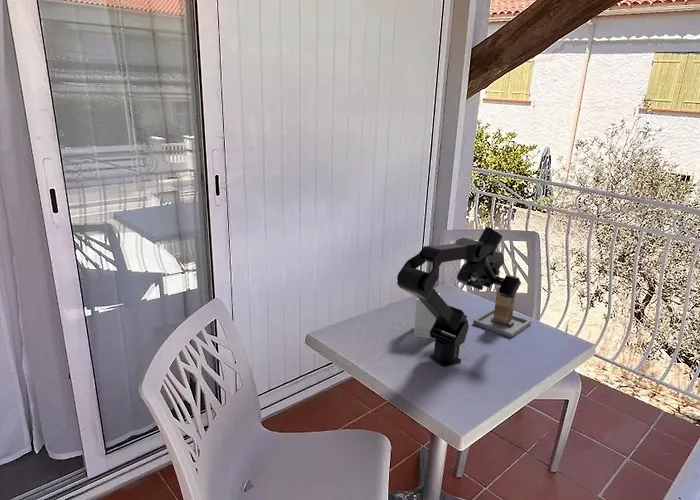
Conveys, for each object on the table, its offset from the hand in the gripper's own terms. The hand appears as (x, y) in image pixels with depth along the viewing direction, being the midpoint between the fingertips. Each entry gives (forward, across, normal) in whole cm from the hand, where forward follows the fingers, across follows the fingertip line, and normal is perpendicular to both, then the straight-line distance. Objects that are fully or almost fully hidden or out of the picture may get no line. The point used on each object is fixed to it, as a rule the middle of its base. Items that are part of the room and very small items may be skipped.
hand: (495, 293), depth 153 cm
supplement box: (-2, +14, +21) cm, 25 cm away
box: (+15, 0, +4) cm, 15 cm away
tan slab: (+14, 0, +4) cm, 15 cm away
